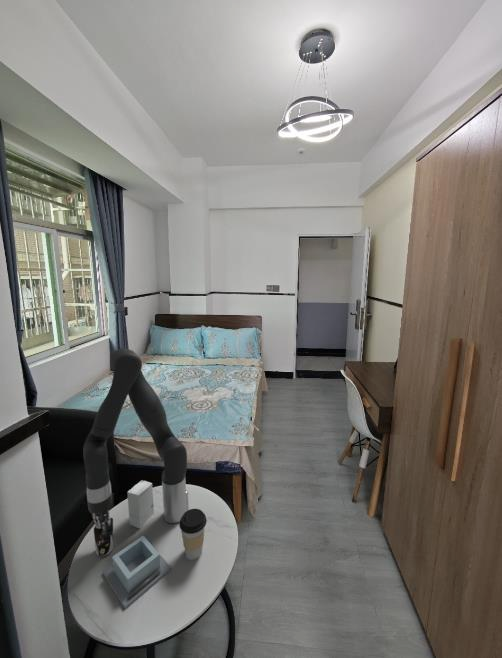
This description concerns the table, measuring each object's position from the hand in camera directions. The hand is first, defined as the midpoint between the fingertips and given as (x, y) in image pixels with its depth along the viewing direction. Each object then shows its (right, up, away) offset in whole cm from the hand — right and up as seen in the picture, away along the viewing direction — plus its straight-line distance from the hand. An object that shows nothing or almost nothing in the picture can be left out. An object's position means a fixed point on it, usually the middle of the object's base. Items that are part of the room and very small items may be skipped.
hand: (103, 535), depth 105 cm
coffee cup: (+33, -7, 0) cm, 33 cm away
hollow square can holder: (+15, -8, -6) cm, 18 cm away
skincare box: (+8, -4, +15) cm, 18 cm away
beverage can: (0, -7, +1) cm, 7 cm away
